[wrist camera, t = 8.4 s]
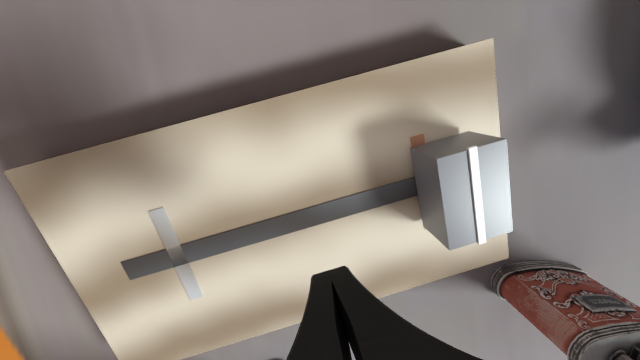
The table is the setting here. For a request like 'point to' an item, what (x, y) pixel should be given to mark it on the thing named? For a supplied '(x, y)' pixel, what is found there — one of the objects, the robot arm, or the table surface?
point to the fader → (464, 188)
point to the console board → (260, 205)
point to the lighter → (571, 309)
